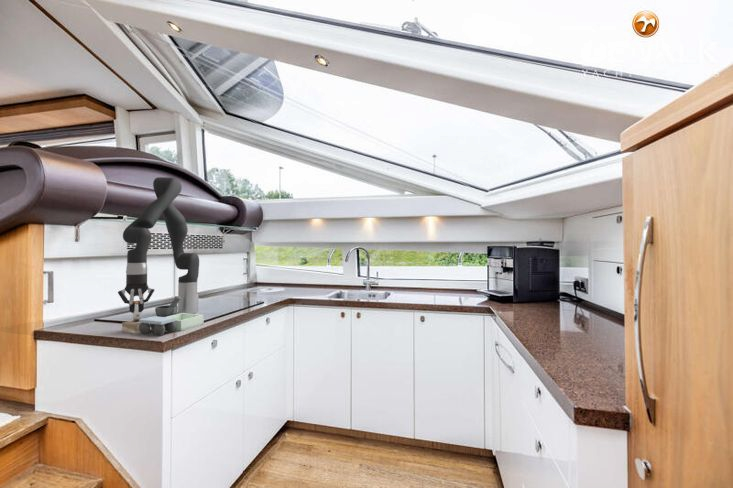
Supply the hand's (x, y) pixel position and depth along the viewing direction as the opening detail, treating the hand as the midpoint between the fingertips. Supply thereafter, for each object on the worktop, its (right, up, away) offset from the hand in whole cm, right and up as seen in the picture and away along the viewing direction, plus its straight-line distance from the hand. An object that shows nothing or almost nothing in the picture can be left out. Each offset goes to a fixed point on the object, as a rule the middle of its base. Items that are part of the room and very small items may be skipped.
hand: (136, 312), depth 143 cm
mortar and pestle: (+2, -8, +19) cm, 21 cm away
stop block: (0, -8, 0) cm, 8 cm away
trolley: (+11, -8, -4) cm, 14 cm away
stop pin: (0, -5, 0) cm, 5 cm away
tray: (+15, -8, +8) cm, 19 cm away
